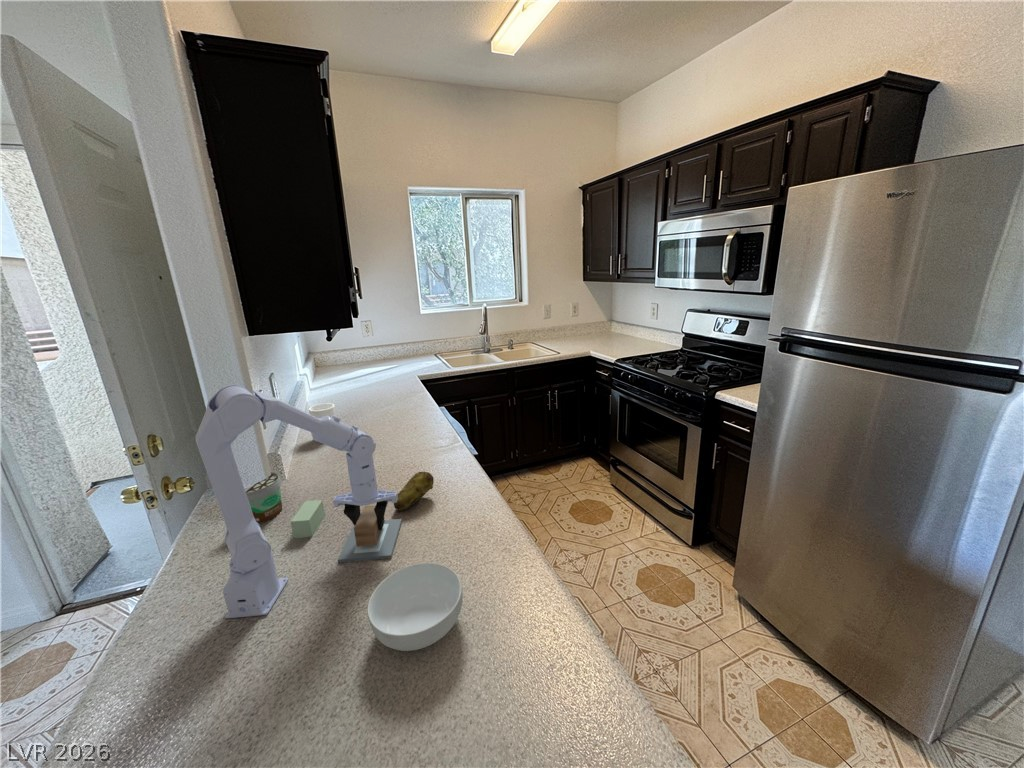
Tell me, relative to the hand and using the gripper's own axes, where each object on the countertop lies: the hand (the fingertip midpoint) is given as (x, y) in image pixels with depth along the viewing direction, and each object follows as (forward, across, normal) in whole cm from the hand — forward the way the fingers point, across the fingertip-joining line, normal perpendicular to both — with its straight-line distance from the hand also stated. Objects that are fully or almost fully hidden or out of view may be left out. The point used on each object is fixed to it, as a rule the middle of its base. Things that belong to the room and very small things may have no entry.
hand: (370, 528), depth 97 cm
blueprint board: (+3, 0, 0) cm, 3 cm away
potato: (+4, -8, -16) cm, 18 cm away
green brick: (+4, +18, -8) cm, 20 cm away
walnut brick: (+2, 0, 0) cm, 2 cm away
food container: (+4, +31, -15) cm, 35 cm away
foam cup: (+4, +35, -69) cm, 77 cm away
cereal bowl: (+4, -15, +26) cm, 30 cm away
